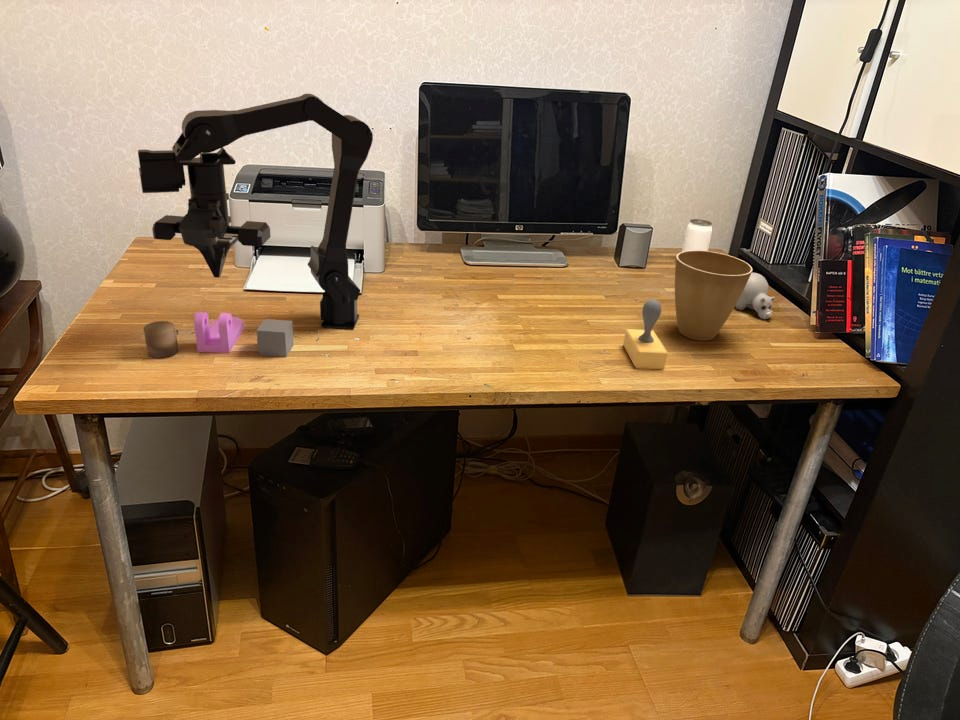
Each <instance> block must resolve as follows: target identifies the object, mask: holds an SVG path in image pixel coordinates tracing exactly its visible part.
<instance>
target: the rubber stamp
mask: <svg viewBox="0 0 960 720" xmlns="http://www.w3.org/2000/svg"><path fill="white" fill-rule="evenodd" d="M661 313H662V305H661V303H660V302H659V301H658V300H656V299H648V300H646V301H645V303H644V304H643V306H642V319H643V324H644V325H643V326H644V329H631V328H630V329H628V328H627V329H626V330H625V331H624V338H623V343H622V345H623V347H624V349H625V350H626V352H627V355H628V356H629V358H630V360H631V361H632V362H631V363H632V364H633V367H635V368H636V369H642V370H643V369H646V370H647V369H648V370H664V369H665V367H666V363H667V358H668V351H667V350H666V348H665V346H664V345H663V343H662V342H661V340H660V339H659V336H657V334H656V333H655V331H654V329H653V328H654V327H655V324H656V323H657V322H658V320H659V318H660V316H661Z"/></svg>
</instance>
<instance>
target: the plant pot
mask: <svg viewBox="0 0 960 720" xmlns="http://www.w3.org/2000/svg"><path fill="white" fill-rule="evenodd" d="M675 257H676V258H675V267H674V304H675V313H676V315H675V316H676V322H677V328H678V332H679V333H680V334H681V335H682V336H684V337H686V338H689V339H690V340H695V341H701V342H702V341H703V342H704V341H705V342H706V341H711V340H713V339H714V338H715V337H716V335H717V334H718V333H719V332H720V330H721V329H722V327H723V326H724V325H725V323H726V322H727V320H728V318H729V317H730V316H731V314H732V312H733V311H734V309H735V308H736V307H735V306H736V304H737V302H738V300H739V298H740V296H741V294H742V292H743V290H744V288H745V286H746V284H747V282H748V279H749V277H750V275H751V273H753V267H752V266H751V265H750V264H749V263H748V262H746V261H745V260H742V259H740V258H737V257H735V256H732V255H729V254H726V253H721V252H715V251H709V250H708V251H700V250H694V251H683V252H682V251H680V252H679V253H677V254H676V256H675Z"/></svg>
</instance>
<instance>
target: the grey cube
mask: <svg viewBox="0 0 960 720" xmlns="http://www.w3.org/2000/svg"><path fill="white" fill-rule="evenodd" d="M293 328H294V327H293V320H283V319H270V318H268V319H267V318H265V319H264V320H263V321H262V322H261V324H260V325H259V327H258V328H257V329H256V340H257V351H258V356H264V357H281V358H287V357H288V355H289V354H290V352H291V350H292V348H293V347H294V330H293Z"/></svg>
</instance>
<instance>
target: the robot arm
mask: <svg viewBox="0 0 960 720" xmlns="http://www.w3.org/2000/svg"><path fill="white" fill-rule="evenodd" d="M310 121H312V122H314V123H315V124H317V125H319V126H320V127H322V128H323V129H325V130H326V131H328V132H329V133H331V151H332V156H333V157H332V158H333V166H334V167H333V172H332V178H331V179H332V180H331V186H330V192H329V199H328V204H327V210H326V216H325V217H326V218H325V224H324V229H323V230H324V232H323V236H322V240H321V242H320V243H319V245H318V246H314V245H311V246H310V259H309V260H308V263H307V266H308V268H310V273H311V275H312V277H313V278H314V280H315V281H316V283H317V284H318V286H319V287H320V288H321V290H323V293H322V298H321V300H320V301H319V310H320V311H319V312H320V314H319V315H320V320H321V325H320V326H321V327H322V328H333V329H347V330H354V329H355V328H356V325H357V323H358V320H359V318H360V314H359V313H358V299H359V296H360V293H361V289H360V288H359V286H357V284H356V283H355V282H354V281H353V279H352V278H351V277H350V275H349V259H348V253H347V242H348V237H349V236H348V235H349V230H350V229H349V228H350V224H351V217H352V212H353V207H354V205H353V204H354V201H355V194H356V189H357V188H356V187H357V183H358V176H359V172H360V171H361V168H362V167H363V165H364V164H365V162H366V161H367V159H368V155H369V152H370V150H371V147H372V144H373V139H374V138H373V137H374V134H373V131H372V130H371V128H370V126H369V125H368V124H367V123H366V122H364V121H362V120H360V119H359V118H357V117H355V116H353V115H352V114H351V115H349V114H345V115H343V114H341V113H340V112H338V111H337V110H335V109H334V108H332V107H331V106H329V105H328V104H326V103H325V102H324V101H323V100H322V99H321V98H319V97H318V96H316V95H315V94H312V93H304V94H302V95H299V96H296V97H293V98H292V97H291V98H287V99H283V100H278V101H273V102H269V103H268V102H267V103H265V104H260V105H255V106H251V107H246V108H240V109H236V110H233V109H232V110H224V109H223V110H222V109H221V110H219V109H210V110H209V109H206V110H202V109H201V110H194V111H191V112H189V113H187V114H186V115H185V116H184V118H183V120H182V123H181V131H182V132H181V133H180V134H179V137H178V138H177V140H176V141H175V142H174V144H173V146H172V148H171V150H165V149H164V150H151V149H138V150H137V155H138V161H139V167H138V171H139V173H138V174H139V179H140V184H141V190H142V191H141V192H142V194H159V193H160V194H161V193H179V192H180V189H183V187H184V186H186V176H185V175H186V174H185V168H184V166H187V167H186V169H187V175H188V185H189V191H190V192H189V193H190V198H188V199H187V200H188V202H187V205H188V206H187V207H188V209H187V213H185V215H184V216H183V215H182V216H181V215H168V214H166V215H163V216H162V217H161V218H159V219H158V220H156V221H155V222H154V223H153V226H152V230H151V231H152V236H153V239H155V240H163V241H172V240H173V238H175V237H176V234H180V235H181V238H182V242H183V244H185V245H186V246H190V247H194V248H195V249H196V250H198V251H199V253H200V254H201V255H202V257H203V259H204V261H205V262H206V264H207V266H208V268H209V270H210V271H211V274H212V275H213V278H220V277H221V275H222V273H223V269H224V267H225V263H226V259H227V257H228V254H229V251H230V249H231V247H233V245H235V244H236V243H237V242H239V243H240V244H241V245H242V246H246V247H263V246H264V244H266V243H267V242H268V240H270V238H271V227H270V226H269V224H268V223H267V222H265V221H250V220H247V221H245V222H244V223H243V224H242V225H241V226H238V225H237V226H236V225H230V224H231V223H232V217H231V215H229V208H228V201H229V199H230V195H229V193H227V188H226V179H225V176H226V175H225V168H224V166H225V165H226V166H227V165H235V164H236V159H234V157H233V156H232V155H230V154H229V153H228V152H227V150H226V149H225V147H226V146H229V145H230V144H233V143H234V142H236V141H237V140H239V139H241V138H243V137H245V136H248V135H250V136H251V135H254V134H259V133H262V132H266V131H271V130H275V129H279V128H283V127H288V126H292V125H296V124H301V123H306V122H310ZM215 151H216V152H215ZM197 156H199V157H197Z"/></svg>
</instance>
